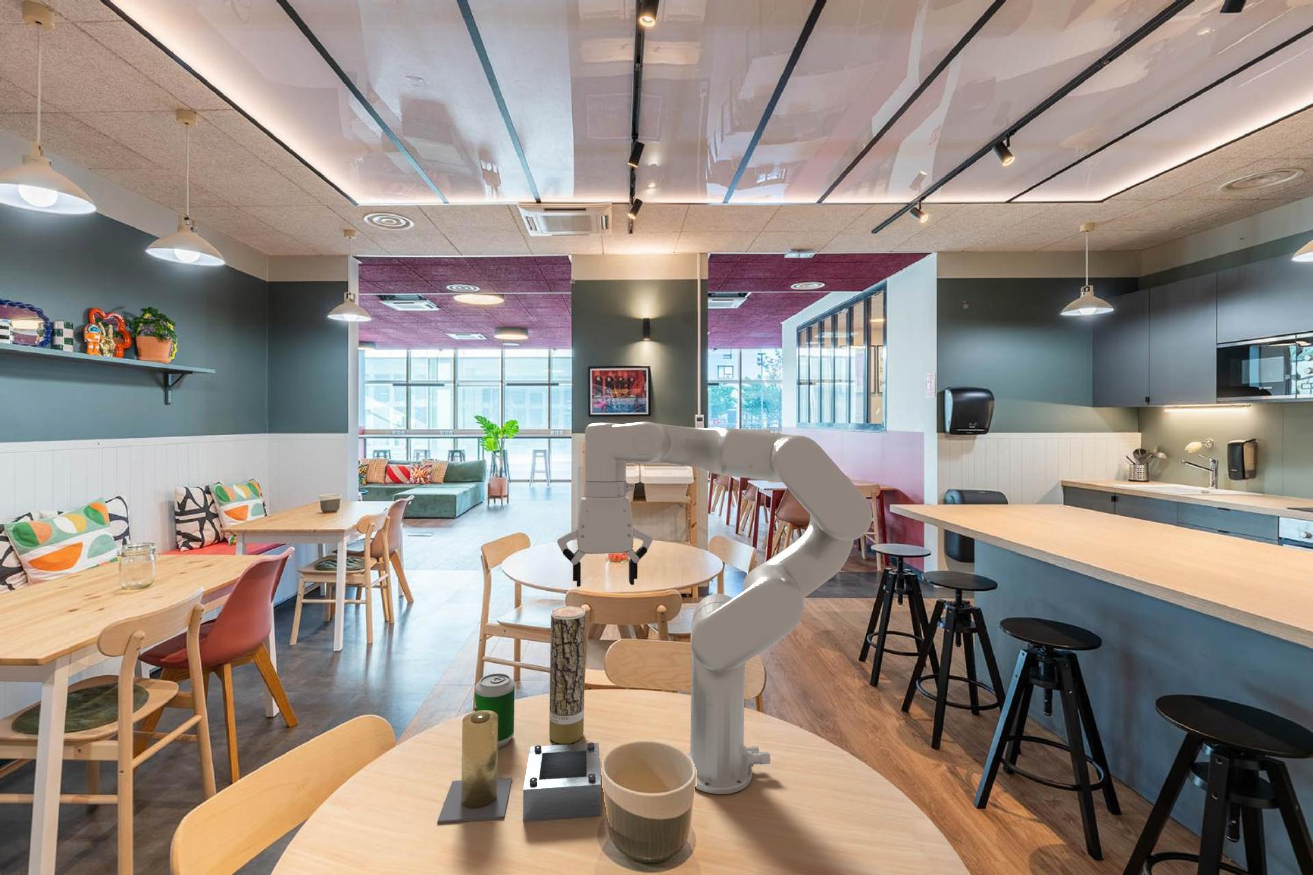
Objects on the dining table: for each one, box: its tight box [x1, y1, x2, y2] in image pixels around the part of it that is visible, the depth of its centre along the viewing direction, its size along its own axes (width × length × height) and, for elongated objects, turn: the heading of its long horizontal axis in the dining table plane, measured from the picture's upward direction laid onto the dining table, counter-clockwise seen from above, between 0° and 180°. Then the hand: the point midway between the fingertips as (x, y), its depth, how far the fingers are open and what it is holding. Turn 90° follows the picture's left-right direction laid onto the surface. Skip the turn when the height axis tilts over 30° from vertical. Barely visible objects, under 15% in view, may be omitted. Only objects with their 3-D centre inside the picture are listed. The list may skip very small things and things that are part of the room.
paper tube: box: [548, 605, 586, 745], centre depth 111 cm, size 7×7×25 cm
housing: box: [522, 741, 602, 822], centre depth 93 cm, size 12×12×6 cm
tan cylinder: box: [461, 710, 499, 809], centre depth 92 cm, size 6×6×13 cm
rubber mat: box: [436, 776, 513, 824], centre depth 92 cm, size 10×10×1 cm
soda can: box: [474, 672, 516, 749], centre depth 109 cm, size 8×8×12 cm
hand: (605, 583), depth 102 cm, fingers open, 9 cm apart
